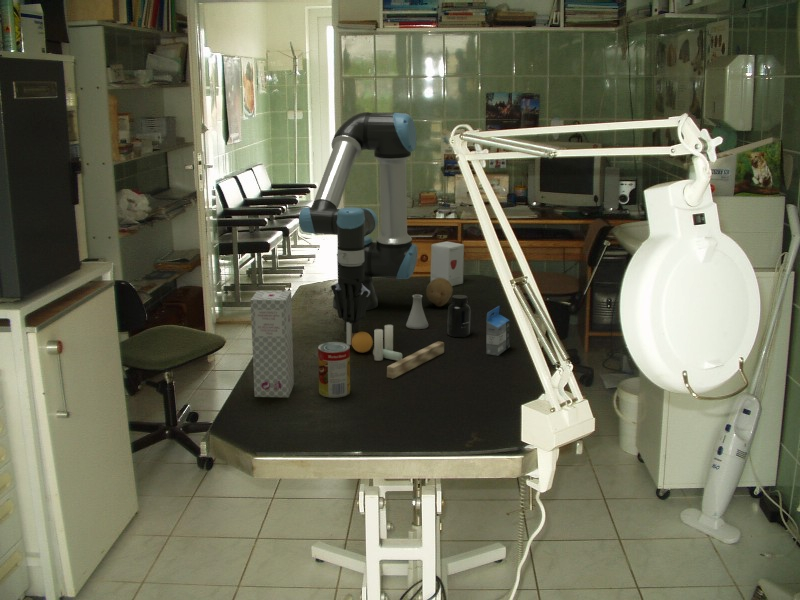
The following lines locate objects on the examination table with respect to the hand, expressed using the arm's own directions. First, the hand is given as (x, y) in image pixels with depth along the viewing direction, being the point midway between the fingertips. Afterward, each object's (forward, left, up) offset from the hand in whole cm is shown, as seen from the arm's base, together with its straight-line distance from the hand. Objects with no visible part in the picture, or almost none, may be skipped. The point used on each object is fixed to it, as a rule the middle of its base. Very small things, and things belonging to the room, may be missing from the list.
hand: (351, 343), depth 253 cm
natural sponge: (-53, -3, -2) cm, 53 cm away
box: (+37, +3, -2) cm, 37 cm away
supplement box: (-82, -17, -2) cm, 84 cm away
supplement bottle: (-30, +18, -2) cm, 35 cm away
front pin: (0, +8, -1) cm, 8 cm away
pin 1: (+2, +11, -2) cm, 12 cm away
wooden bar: (0, +22, -2) cm, 22 cm away
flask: (-30, +3, -2) cm, 30 cm away
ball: (0, +4, +1) cm, 4 cm away
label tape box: (-23, +35, -2) cm, 42 cm away
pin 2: (-3, +11, -2) cm, 12 cm away
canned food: (+29, +16, -2) cm, 33 cm away
